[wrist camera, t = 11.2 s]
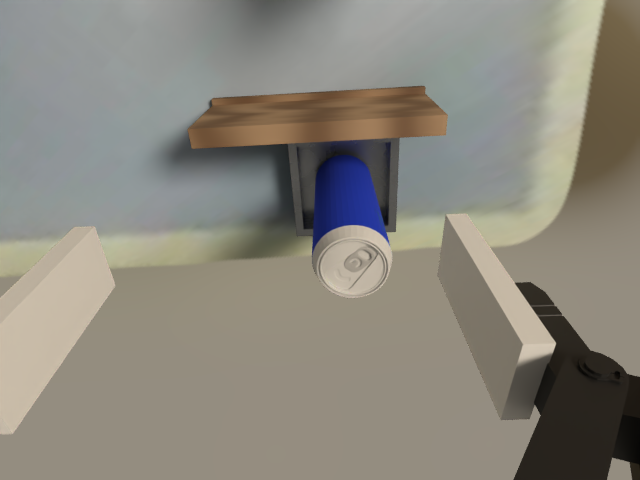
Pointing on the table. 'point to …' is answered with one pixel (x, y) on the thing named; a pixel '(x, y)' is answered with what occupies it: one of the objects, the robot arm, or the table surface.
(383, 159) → the tray
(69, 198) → the table surface
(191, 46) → the table surface
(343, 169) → the beverage can
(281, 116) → the board
